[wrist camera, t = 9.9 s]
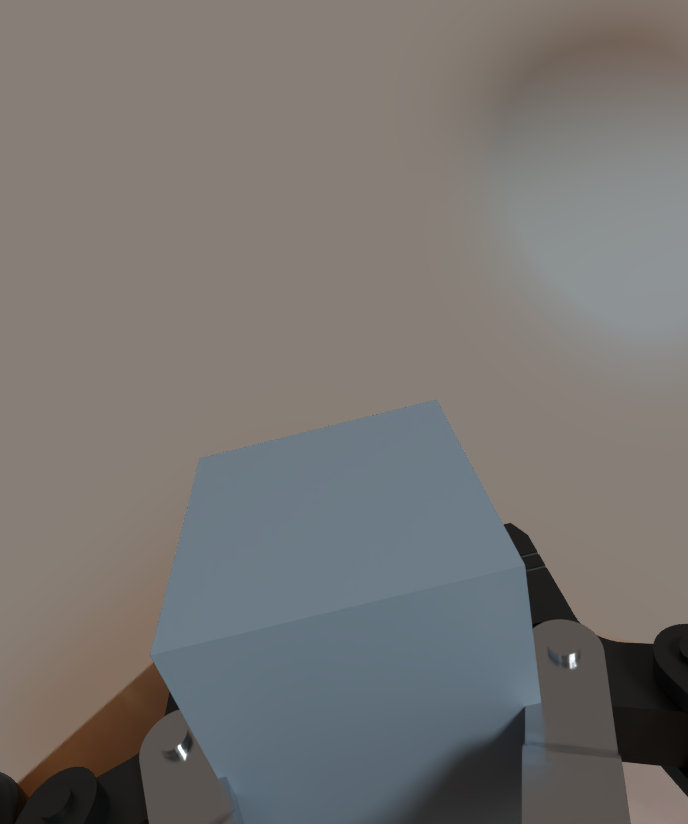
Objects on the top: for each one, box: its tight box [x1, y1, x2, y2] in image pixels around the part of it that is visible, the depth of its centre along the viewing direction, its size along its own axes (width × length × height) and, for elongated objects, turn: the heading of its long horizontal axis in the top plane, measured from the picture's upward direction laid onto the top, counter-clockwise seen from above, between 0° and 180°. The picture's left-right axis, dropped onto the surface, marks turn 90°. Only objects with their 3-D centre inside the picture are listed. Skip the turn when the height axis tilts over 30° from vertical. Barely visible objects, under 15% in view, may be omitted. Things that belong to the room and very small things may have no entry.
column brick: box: [150, 400, 541, 824], centre depth 12 cm, size 5×5×10 cm
